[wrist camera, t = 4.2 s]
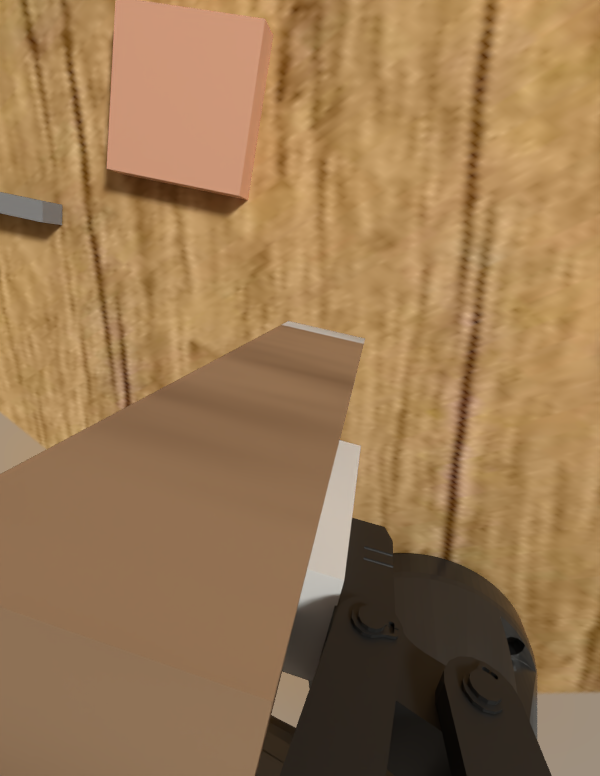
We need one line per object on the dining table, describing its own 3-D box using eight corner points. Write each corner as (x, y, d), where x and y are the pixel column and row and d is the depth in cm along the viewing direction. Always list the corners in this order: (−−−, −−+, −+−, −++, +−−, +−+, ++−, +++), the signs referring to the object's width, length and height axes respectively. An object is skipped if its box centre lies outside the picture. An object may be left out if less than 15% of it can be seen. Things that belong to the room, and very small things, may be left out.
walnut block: (315, 536, 18) (144, 1218, 5) (251, 517, 19) (-63, 1108, 6) (365, 338, 16) (272, 703, 2) (288, 321, 16) (-152, 555, 3)
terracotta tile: (250, 201, 25) (239, 195, 23) (127, 175, 26) (106, 168, 24) (275, 39, 22) (265, 19, 20) (137, 18, 23) (115, -4, 21)
